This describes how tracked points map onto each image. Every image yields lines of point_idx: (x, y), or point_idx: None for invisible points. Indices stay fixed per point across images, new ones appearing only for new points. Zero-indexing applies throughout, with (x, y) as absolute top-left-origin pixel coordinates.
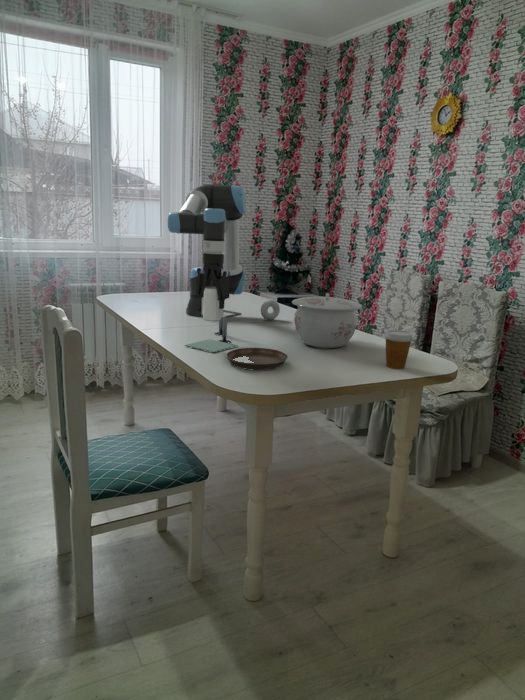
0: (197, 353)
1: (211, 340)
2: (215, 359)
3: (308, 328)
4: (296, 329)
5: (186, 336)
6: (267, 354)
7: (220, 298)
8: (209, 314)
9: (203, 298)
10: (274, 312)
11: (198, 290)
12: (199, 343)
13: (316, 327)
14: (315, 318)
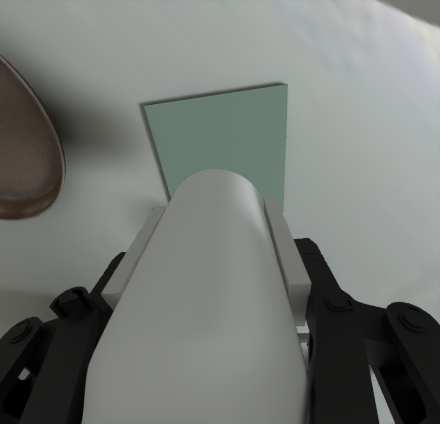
0: (173, 48)
1: None
2: (64, 42)
3: None
4: None
5: (375, 194)
6: (37, 201)
7: (56, 310)
8: (185, 189)
9: (287, 279)
10: None
11: (423, 365)
12: (264, 149)
13: None
14: (22, 376)
